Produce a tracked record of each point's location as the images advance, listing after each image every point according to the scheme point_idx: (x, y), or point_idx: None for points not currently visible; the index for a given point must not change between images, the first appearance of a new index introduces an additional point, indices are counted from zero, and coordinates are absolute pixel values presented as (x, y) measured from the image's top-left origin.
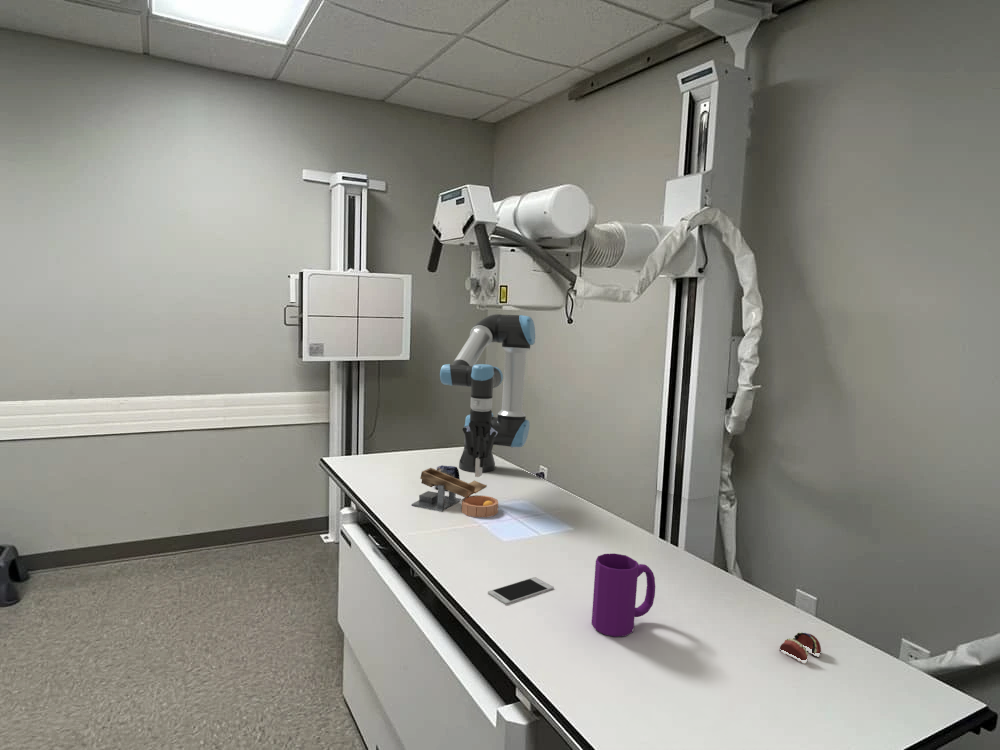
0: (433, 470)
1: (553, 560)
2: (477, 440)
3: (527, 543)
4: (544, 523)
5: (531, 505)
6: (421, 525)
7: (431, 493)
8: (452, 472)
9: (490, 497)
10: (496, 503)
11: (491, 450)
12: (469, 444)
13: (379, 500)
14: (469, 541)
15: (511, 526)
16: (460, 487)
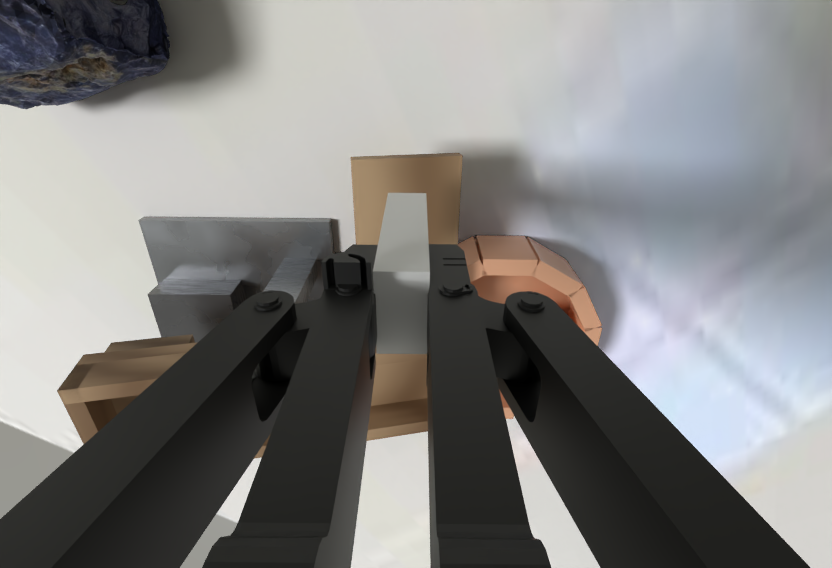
0: (107, 395)
1: (826, 548)
2: (346, 559)
3: (746, 494)
4: (825, 316)
5: (761, 75)
6: (367, 511)
7: (194, 320)
8: (61, 55)
9: (534, 270)
10: (594, 341)
11: (596, 358)
12: (224, 488)
13: (42, 397)
14: (560, 541)
15: (673, 403)
16: (399, 433)
